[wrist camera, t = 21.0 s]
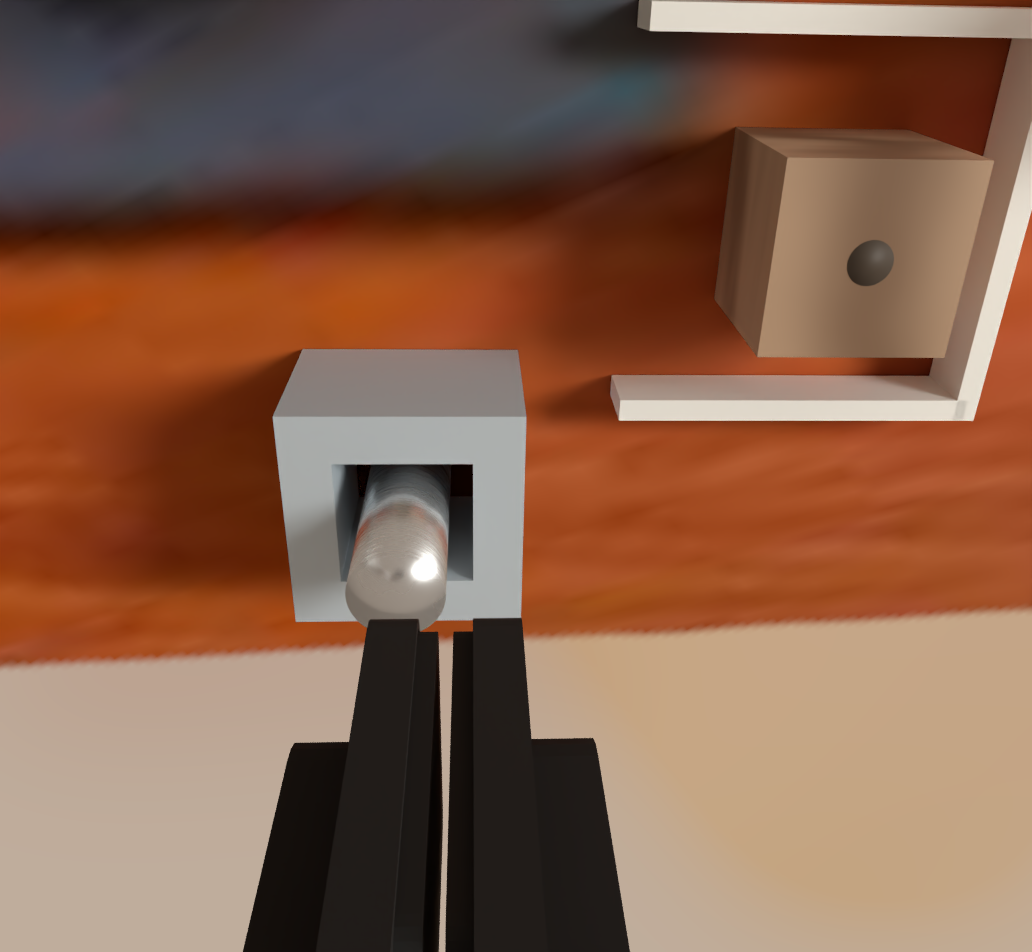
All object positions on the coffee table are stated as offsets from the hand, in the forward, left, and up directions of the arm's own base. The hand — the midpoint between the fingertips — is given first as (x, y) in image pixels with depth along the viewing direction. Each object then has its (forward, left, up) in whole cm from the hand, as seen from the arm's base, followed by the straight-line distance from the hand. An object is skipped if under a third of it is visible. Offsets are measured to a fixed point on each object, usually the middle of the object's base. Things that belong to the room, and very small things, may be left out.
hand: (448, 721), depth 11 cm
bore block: (-2, -9, -25) cm, 27 cm away
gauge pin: (-2, -9, -25) cm, 27 cm away
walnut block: (+12, 0, -25) cm, 28 cm away
